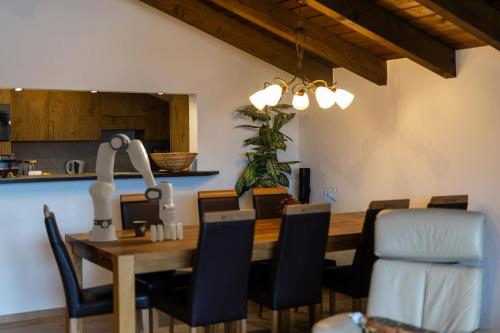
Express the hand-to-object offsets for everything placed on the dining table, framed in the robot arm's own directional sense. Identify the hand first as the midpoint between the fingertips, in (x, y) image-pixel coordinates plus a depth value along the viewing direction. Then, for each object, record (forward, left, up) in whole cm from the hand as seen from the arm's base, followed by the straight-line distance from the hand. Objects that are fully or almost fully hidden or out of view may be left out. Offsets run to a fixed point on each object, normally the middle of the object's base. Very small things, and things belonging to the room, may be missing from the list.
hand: (166, 227), depth 440 cm
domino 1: (0, -9, -8) cm, 12 cm away
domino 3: (0, 0, -7) cm, 7 cm away
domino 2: (0, -5, -8) cm, 9 cm away
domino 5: (0, +9, -8) cm, 12 cm away
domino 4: (0, +4, -8) cm, 9 cm away
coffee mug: (-25, -9, -8) cm, 28 cm away
